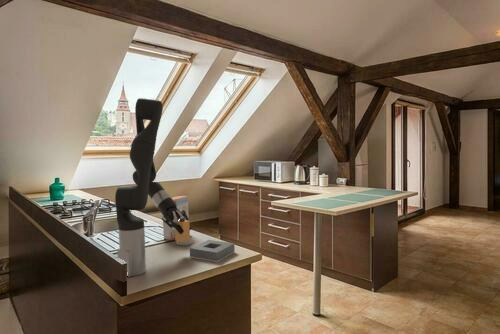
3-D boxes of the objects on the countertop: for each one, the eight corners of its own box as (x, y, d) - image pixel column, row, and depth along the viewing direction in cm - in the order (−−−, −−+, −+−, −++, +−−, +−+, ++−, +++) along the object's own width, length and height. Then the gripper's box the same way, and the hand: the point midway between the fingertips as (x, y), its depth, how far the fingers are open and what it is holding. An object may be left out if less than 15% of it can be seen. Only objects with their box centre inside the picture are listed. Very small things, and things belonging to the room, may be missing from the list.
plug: (183, 242, 146) (182, 219, 146) (175, 241, 148) (174, 218, 148) (189, 239, 150) (189, 217, 149) (182, 238, 152) (181, 216, 151)
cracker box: (181, 233, 186) (180, 195, 185) (189, 234, 183) (188, 196, 182) (162, 239, 174) (161, 199, 173) (171, 240, 171) (169, 199, 170)
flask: (185, 240, 171) (185, 221, 170) (195, 243, 166) (194, 223, 166) (174, 244, 165) (173, 224, 165) (183, 246, 161) (183, 226, 160)
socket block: (217, 262, 139) (216, 252, 139) (189, 257, 146) (189, 248, 145) (234, 252, 151) (234, 243, 151) (208, 248, 158) (208, 239, 158)
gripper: (157, 199, 145) (180, 229, 140) (178, 194, 158) (200, 222, 153) (148, 210, 148) (170, 240, 143) (170, 205, 161) (191, 233, 156)
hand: (186, 231), depth 148 cm, fingers closed on plug, 4 cm apart
